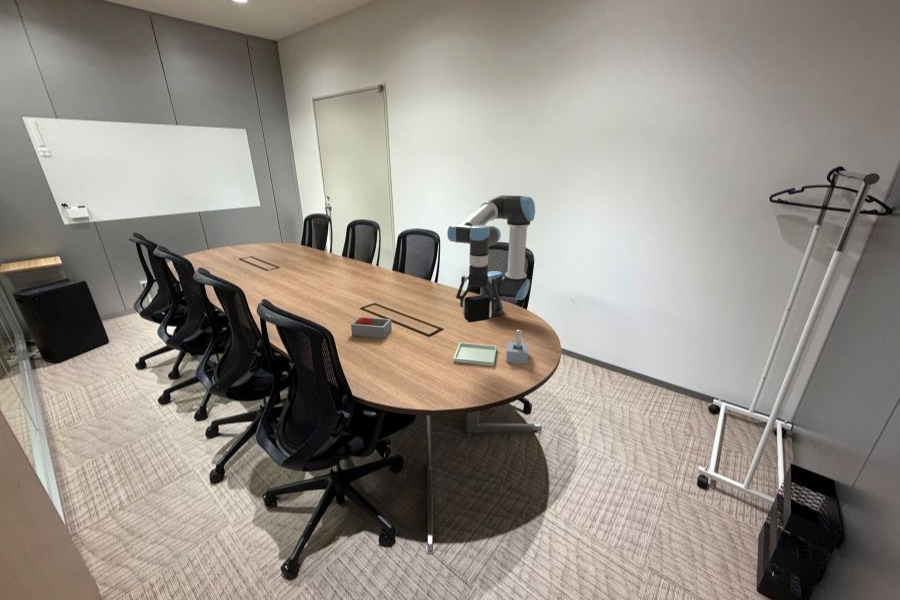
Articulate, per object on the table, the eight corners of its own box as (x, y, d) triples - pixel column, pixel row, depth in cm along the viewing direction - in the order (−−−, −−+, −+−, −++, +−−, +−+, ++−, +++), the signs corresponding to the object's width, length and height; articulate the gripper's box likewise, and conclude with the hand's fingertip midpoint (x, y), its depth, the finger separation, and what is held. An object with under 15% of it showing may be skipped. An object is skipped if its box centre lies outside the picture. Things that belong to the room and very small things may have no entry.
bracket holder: (360, 327, 188) (359, 316, 186) (391, 330, 185) (391, 319, 183) (352, 335, 179) (350, 324, 177) (384, 338, 176) (383, 327, 174)
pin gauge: (514, 353, 161) (516, 329, 156) (520, 354, 160) (521, 329, 156) (514, 356, 158) (515, 331, 154) (519, 357, 158) (521, 332, 154)
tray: (459, 345, 170) (459, 342, 169) (496, 349, 167) (496, 345, 166) (453, 361, 156) (453, 358, 155) (493, 366, 153) (493, 362, 152)
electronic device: (464, 319, 155) (464, 297, 152) (485, 315, 158) (486, 294, 155) (468, 322, 151) (468, 300, 148) (489, 319, 155) (490, 297, 151)
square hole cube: (507, 351, 165) (507, 341, 163) (527, 353, 163) (528, 343, 161) (506, 361, 156) (506, 351, 155) (527, 363, 155) (528, 353, 153)
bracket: (360, 336, 179) (359, 321, 177) (358, 332, 183) (356, 318, 180) (384, 331, 185) (383, 317, 182) (381, 328, 188) (380, 314, 186)
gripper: (448, 265, 145) (448, 316, 153) (507, 268, 141) (503, 320, 149) (452, 260, 152) (452, 309, 160) (508, 263, 148) (505, 313, 156)
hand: (477, 315), depth 154 cm, fingers closed on electronic device, 11 cm apart
